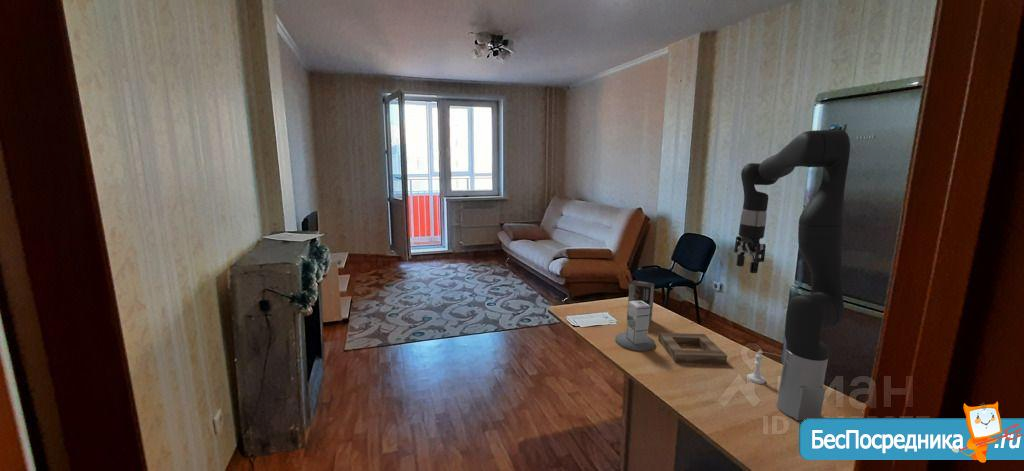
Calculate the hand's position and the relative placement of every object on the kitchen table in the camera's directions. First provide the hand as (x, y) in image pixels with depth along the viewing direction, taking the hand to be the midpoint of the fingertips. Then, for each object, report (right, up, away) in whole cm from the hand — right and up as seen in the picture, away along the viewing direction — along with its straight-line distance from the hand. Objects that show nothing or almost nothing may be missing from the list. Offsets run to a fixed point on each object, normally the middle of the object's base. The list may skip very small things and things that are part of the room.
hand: (746, 269), depth 142 cm
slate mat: (-36, -28, +10) cm, 46 cm away
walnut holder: (-18, -29, +4) cm, 35 cm away
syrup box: (-35, -27, +9) cm, 45 cm away
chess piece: (-5, -33, -14) cm, 37 cm away
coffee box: (-27, -24, +32) cm, 48 cm away
